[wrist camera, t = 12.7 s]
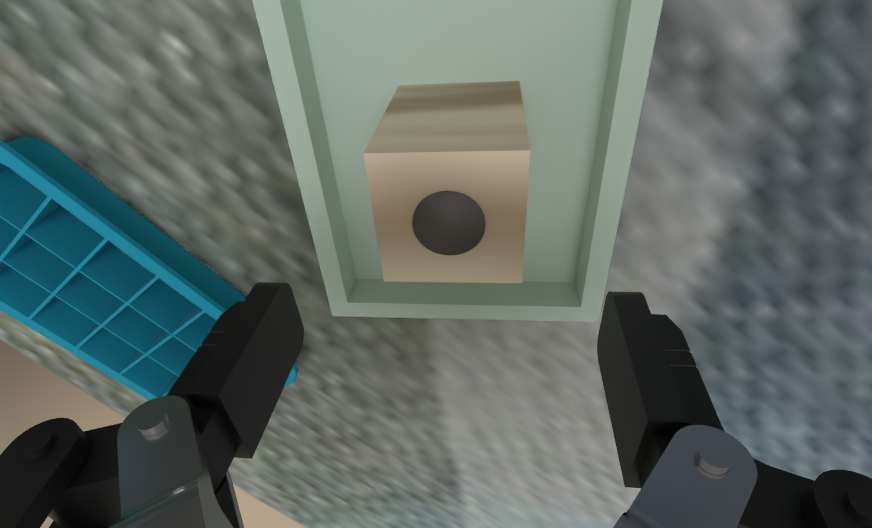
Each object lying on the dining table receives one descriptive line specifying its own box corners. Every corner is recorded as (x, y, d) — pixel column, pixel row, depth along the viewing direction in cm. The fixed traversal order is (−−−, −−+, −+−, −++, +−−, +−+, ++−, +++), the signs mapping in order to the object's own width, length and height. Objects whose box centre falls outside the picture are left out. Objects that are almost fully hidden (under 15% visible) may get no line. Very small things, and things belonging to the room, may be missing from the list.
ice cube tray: (220, 398, 37) (201, 432, 35) (-53, 218, 29) (-103, 247, 26) (319, 340, 32) (305, 375, 30) (22, 100, 24) (-31, 122, 21)
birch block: (399, 84, 20) (362, 155, 14) (519, 80, 19) (530, 152, 14) (409, 191, 23) (383, 284, 17) (514, 190, 22) (522, 285, 17)
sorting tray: (262, -101, 17) (226, -102, 15) (661, -132, 16) (691, -139, 14) (346, 281, 28) (332, 316, 26) (589, 285, 27) (598, 322, 24)
